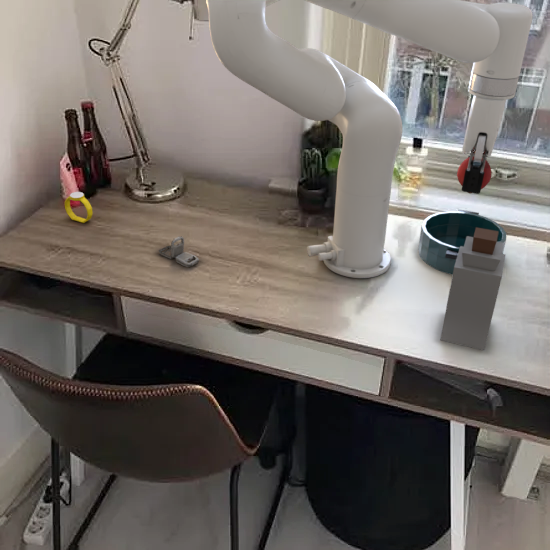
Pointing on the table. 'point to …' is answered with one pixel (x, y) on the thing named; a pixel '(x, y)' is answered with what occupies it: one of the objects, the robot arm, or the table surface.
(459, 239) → the pot
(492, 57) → the robot arm
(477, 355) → the table surface
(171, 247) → the strap clip
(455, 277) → the perfume bottle
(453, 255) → the pot handles
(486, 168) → the onion
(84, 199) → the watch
